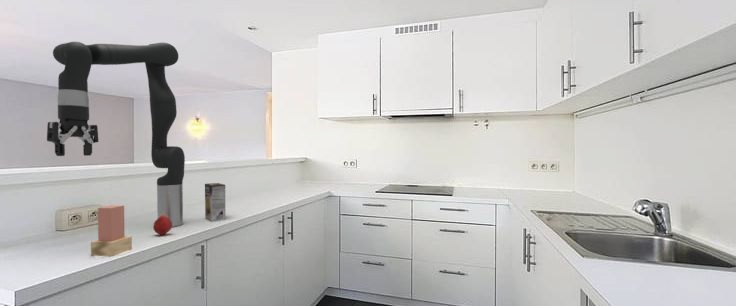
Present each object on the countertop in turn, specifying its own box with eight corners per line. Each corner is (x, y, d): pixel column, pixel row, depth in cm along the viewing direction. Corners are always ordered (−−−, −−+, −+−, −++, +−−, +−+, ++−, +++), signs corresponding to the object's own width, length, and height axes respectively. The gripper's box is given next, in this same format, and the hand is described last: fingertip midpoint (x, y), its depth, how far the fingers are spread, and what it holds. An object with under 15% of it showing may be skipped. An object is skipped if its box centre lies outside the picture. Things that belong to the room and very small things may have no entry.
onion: (163, 238, 118) (162, 216, 118) (149, 237, 119) (149, 215, 119) (175, 234, 124) (175, 212, 124) (162, 233, 125) (162, 212, 125)
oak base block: (91, 255, 98) (90, 241, 98) (112, 248, 105) (111, 235, 105) (111, 256, 97) (111, 242, 97) (131, 248, 104) (131, 236, 104)
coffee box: (204, 218, 152) (204, 183, 151) (219, 216, 156) (218, 182, 156) (211, 221, 145) (210, 185, 145) (226, 219, 149) (225, 184, 149)
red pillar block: (98, 240, 99) (97, 207, 99) (111, 236, 104) (111, 205, 104) (111, 241, 99) (111, 208, 99) (124, 237, 103) (124, 205, 103)
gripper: (60, 102, 98) (61, 156, 98) (104, 107, 112) (105, 155, 112) (38, 102, 99) (39, 156, 99) (85, 108, 113) (85, 155, 113)
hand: (74, 155), depth 106 cm, fingers open, 8 cm apart
